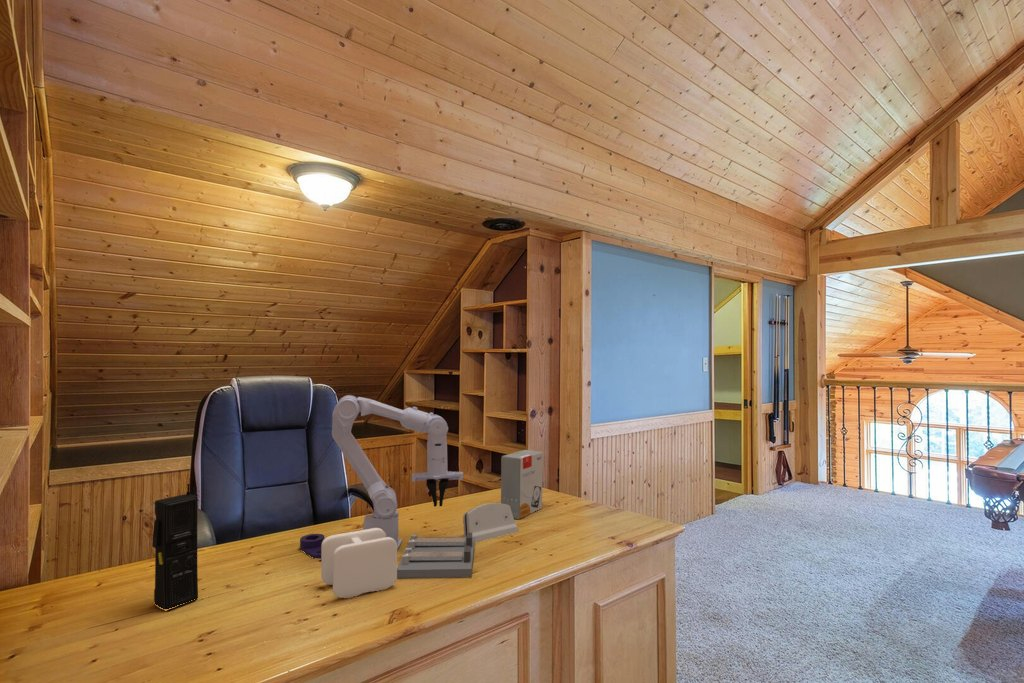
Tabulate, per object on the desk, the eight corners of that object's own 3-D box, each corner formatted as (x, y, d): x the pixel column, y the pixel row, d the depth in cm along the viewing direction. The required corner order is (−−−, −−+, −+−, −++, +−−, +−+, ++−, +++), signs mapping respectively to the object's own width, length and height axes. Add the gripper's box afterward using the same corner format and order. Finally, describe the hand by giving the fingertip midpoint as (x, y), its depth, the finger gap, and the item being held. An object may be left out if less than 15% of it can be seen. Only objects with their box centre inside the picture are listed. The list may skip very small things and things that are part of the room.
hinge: (472, 543, 150) (466, 507, 153) (464, 544, 153) (458, 509, 156) (519, 532, 159) (513, 498, 162) (511, 533, 163) (505, 500, 166)
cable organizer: (330, 604, 114) (330, 550, 114) (320, 585, 123) (320, 535, 124) (397, 588, 122) (397, 537, 122) (383, 571, 131) (383, 524, 131)
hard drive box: (519, 520, 170) (519, 458, 171) (499, 516, 175) (499, 456, 175) (543, 508, 183) (543, 451, 184) (524, 505, 188) (524, 448, 188)
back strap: (409, 546, 141) (409, 541, 141) (411, 542, 144) (411, 537, 144) (464, 546, 142) (464, 541, 142) (464, 542, 145) (465, 537, 145)
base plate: (396, 578, 127) (396, 559, 127) (410, 544, 149) (410, 528, 149) (471, 577, 127) (471, 558, 128) (474, 544, 149) (474, 527, 150)
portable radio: (160, 615, 109) (162, 494, 110) (147, 607, 113) (148, 490, 113) (200, 599, 116) (201, 485, 117) (185, 593, 119) (187, 482, 120)
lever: (297, 547, 148) (297, 536, 148) (320, 543, 151) (320, 532, 151) (308, 561, 138) (308, 549, 138) (332, 556, 141) (332, 544, 141)
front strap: (403, 561, 131) (403, 555, 131) (405, 556, 134) (405, 551, 134) (462, 561, 132) (462, 555, 132) (462, 556, 135) (462, 550, 135)
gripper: (409, 461, 147) (410, 510, 147) (461, 460, 148) (462, 508, 148) (413, 456, 154) (414, 503, 154) (463, 455, 155) (464, 501, 155)
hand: (438, 505), depth 151 cm, fingers closed
